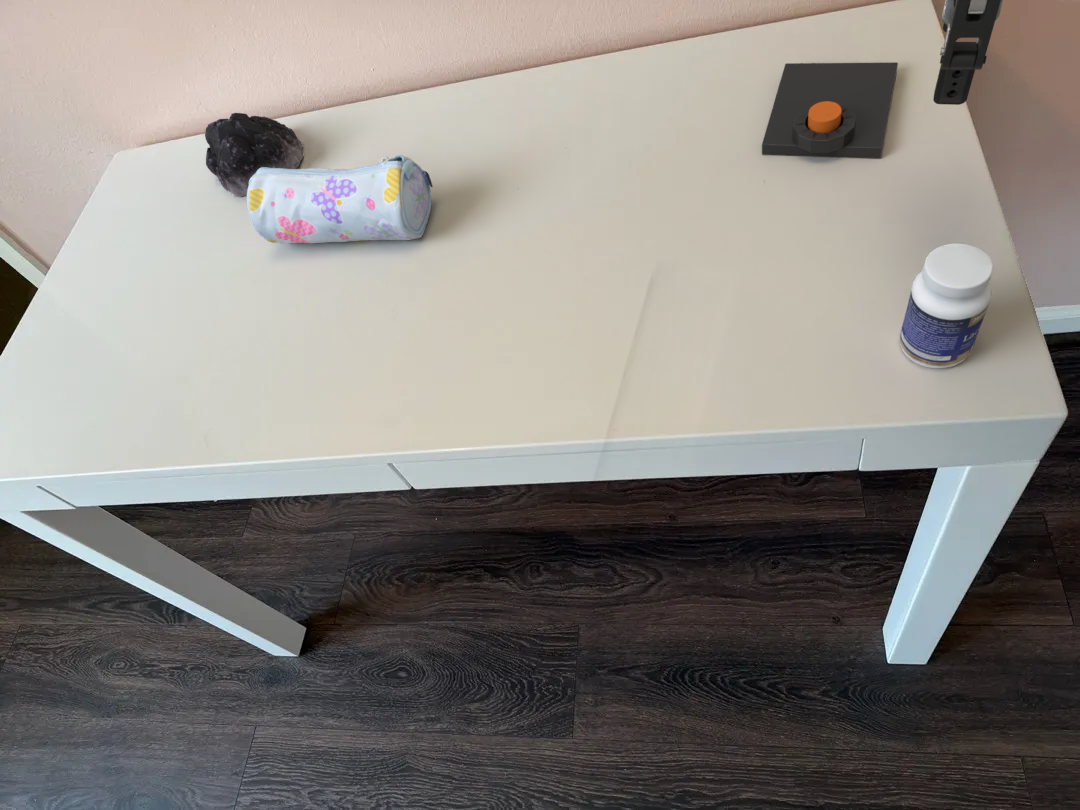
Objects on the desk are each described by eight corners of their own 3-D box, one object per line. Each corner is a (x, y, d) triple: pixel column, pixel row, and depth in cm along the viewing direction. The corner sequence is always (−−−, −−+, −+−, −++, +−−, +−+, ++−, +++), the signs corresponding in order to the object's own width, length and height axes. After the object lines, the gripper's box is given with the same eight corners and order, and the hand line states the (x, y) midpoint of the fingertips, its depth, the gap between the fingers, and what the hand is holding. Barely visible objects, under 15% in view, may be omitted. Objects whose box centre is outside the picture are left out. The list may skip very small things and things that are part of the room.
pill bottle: (970, 375, 64) (999, 297, 56) (895, 366, 66) (913, 290, 58) (974, 321, 66) (1002, 239, 58) (901, 314, 69) (920, 234, 61)
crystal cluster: (250, 137, 112) (203, 82, 104) (324, 130, 106) (279, 70, 98) (211, 208, 106) (157, 155, 98) (286, 204, 101) (236, 147, 93)
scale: (896, 73, 86) (900, 48, 83) (879, 165, 79) (882, 142, 76) (785, 73, 90) (785, 50, 88) (759, 161, 83) (759, 138, 81)
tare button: (842, 113, 80) (843, 101, 79) (838, 134, 79) (839, 121, 78) (810, 113, 82) (811, 100, 80) (805, 133, 80) (806, 121, 79)
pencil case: (444, 200, 92) (415, 135, 85) (427, 254, 88) (395, 190, 80) (294, 211, 98) (254, 151, 91) (271, 262, 94) (227, 204, 86)
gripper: (1090, -120, 41) (1004, 129, 54) (1090, -245, 47) (1013, 6, 60) (934, -110, 43) (889, 126, 57) (953, -230, 50) (909, 8, 63)
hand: (953, 64), depth 58 cm, fingers open, 8 cm apart
